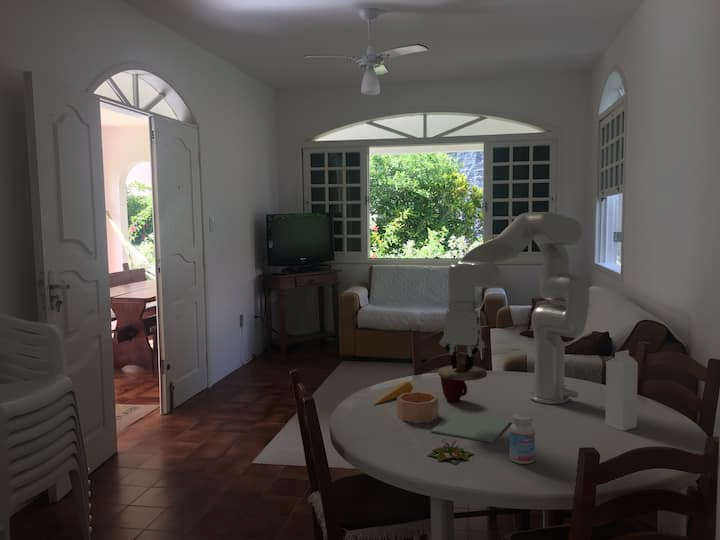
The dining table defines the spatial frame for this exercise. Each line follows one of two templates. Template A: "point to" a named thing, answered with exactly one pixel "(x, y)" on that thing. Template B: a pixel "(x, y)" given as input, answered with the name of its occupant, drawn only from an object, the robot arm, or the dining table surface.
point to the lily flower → (450, 452)
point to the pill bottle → (522, 439)
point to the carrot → (397, 392)
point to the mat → (472, 427)
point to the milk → (621, 391)
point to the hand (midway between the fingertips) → (462, 367)
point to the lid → (462, 370)
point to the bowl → (417, 407)
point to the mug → (453, 389)
